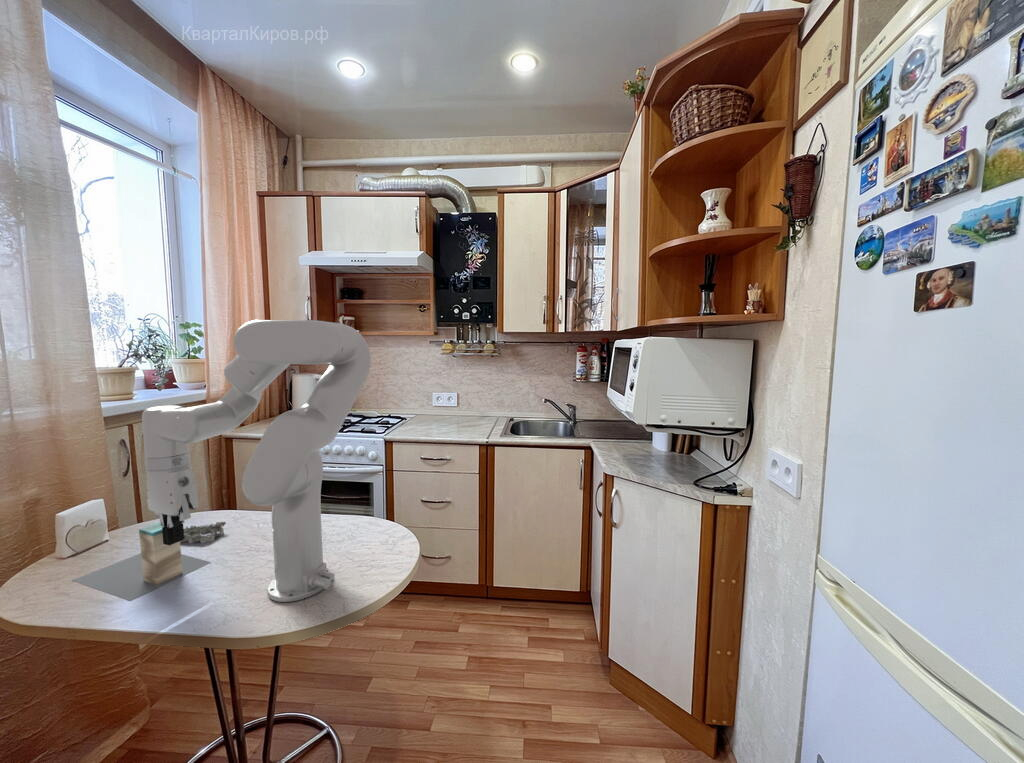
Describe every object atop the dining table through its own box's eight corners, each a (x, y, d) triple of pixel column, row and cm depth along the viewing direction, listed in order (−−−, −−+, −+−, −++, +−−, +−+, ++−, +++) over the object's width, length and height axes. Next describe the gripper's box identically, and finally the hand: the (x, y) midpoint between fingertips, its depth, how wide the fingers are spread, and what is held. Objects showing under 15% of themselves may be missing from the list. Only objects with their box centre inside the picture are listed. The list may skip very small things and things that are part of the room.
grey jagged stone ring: (229, 535, 114) (228, 521, 113) (206, 547, 106) (205, 533, 106) (195, 533, 115) (194, 519, 115) (170, 545, 107) (169, 531, 107)
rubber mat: (211, 564, 97) (211, 562, 97) (130, 603, 82) (130, 601, 82) (155, 549, 105) (155, 547, 105) (72, 582, 90) (72, 580, 90)
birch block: (182, 572, 93) (178, 523, 92) (157, 584, 88) (152, 532, 87) (168, 568, 94) (164, 520, 93) (143, 580, 90) (138, 529, 89)
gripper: (209, 461, 88) (214, 540, 90) (166, 454, 93) (171, 529, 95) (170, 470, 81) (176, 556, 83) (126, 463, 86) (132, 544, 88)
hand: (173, 541), depth 89 cm, fingers closed
